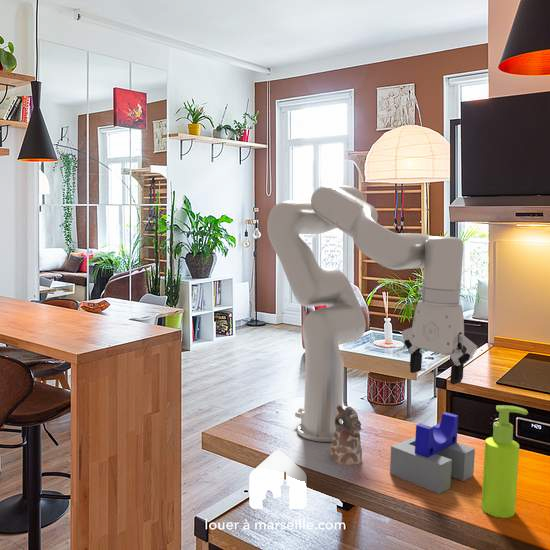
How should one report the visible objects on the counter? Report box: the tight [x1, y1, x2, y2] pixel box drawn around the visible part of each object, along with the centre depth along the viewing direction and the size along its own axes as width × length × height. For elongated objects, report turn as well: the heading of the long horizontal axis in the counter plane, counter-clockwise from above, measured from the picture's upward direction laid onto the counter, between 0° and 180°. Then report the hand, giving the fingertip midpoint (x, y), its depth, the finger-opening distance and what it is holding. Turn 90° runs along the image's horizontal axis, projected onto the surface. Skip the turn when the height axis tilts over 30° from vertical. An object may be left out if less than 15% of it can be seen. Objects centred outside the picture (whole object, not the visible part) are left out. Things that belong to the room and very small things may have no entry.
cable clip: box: [415, 411, 459, 458], centre depth 123 cm, size 12×4×6 cm, turn 135°
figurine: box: [329, 405, 363, 466], centre depth 131 cm, size 7×7×12 cm
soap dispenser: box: [480, 404, 529, 519], centre depth 108 cm, size 6×7×20 cm
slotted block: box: [389, 435, 476, 495], centre depth 124 cm, size 12×13×6 cm
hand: (435, 377), depth 122 cm, fingers open, 9 cm apart
